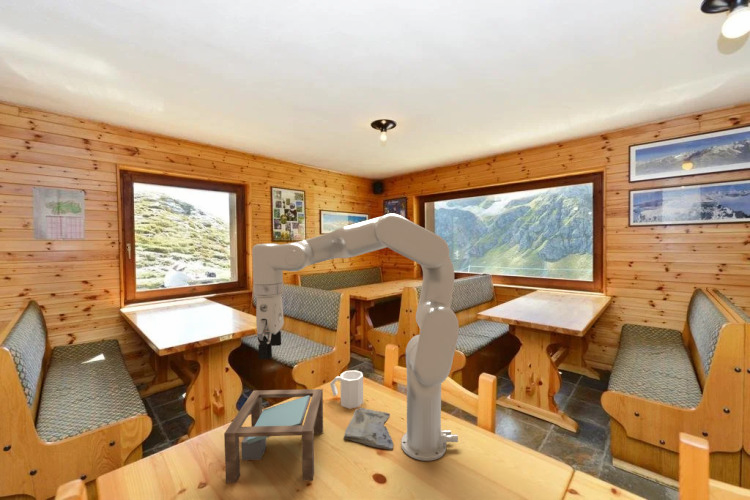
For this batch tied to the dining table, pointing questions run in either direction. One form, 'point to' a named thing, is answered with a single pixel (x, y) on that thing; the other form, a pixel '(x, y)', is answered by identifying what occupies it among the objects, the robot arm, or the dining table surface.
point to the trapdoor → (283, 415)
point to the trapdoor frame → (274, 429)
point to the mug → (350, 388)
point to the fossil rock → (369, 428)
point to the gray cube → (253, 449)
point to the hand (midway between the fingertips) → (270, 351)
